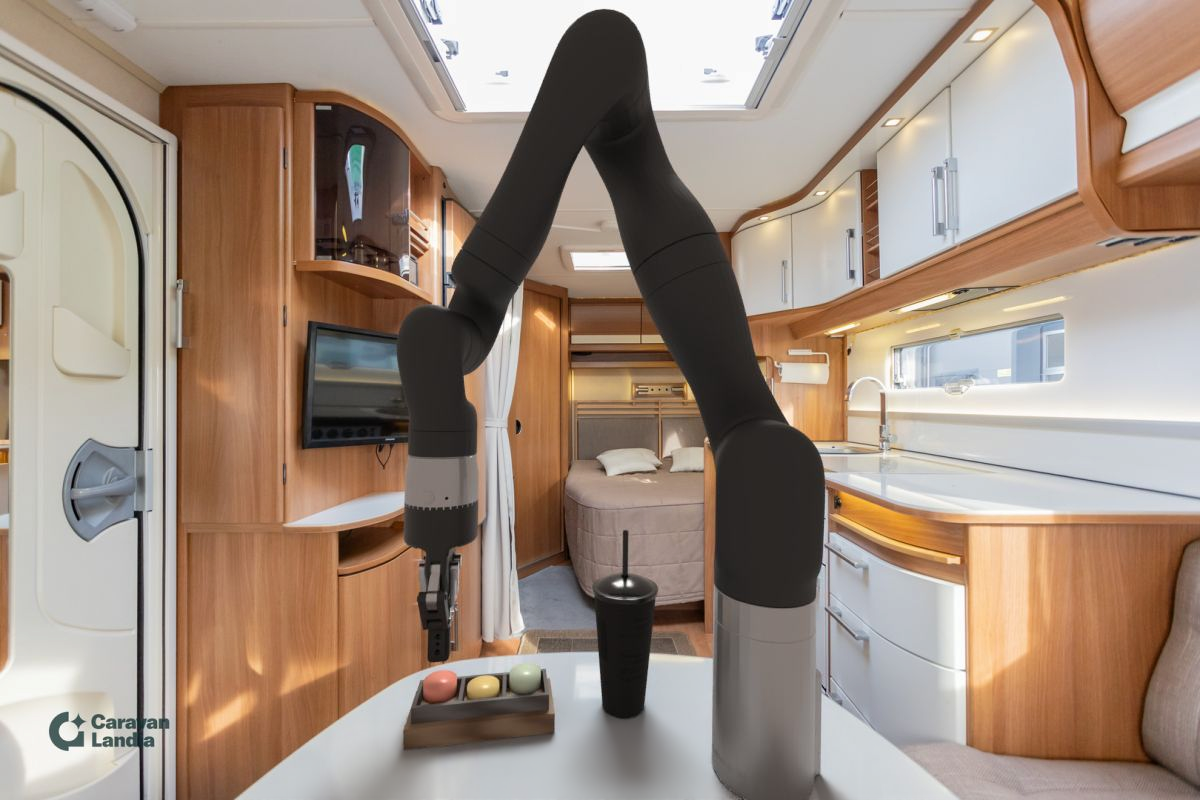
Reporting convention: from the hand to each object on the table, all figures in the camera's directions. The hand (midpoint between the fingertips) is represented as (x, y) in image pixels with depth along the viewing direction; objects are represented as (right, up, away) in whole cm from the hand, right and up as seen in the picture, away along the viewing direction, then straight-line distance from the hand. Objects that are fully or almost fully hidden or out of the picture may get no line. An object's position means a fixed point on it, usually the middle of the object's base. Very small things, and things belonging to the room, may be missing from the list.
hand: (439, 657), depth 51 cm
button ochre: (+5, -5, +1) cm, 7 cm away
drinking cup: (+20, -8, +4) cm, 22 cm away
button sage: (+9, -4, +2) cm, 10 cm away
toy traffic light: (+4, -7, +1) cm, 9 cm away
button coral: (0, -4, 0) cm, 4 cm away
